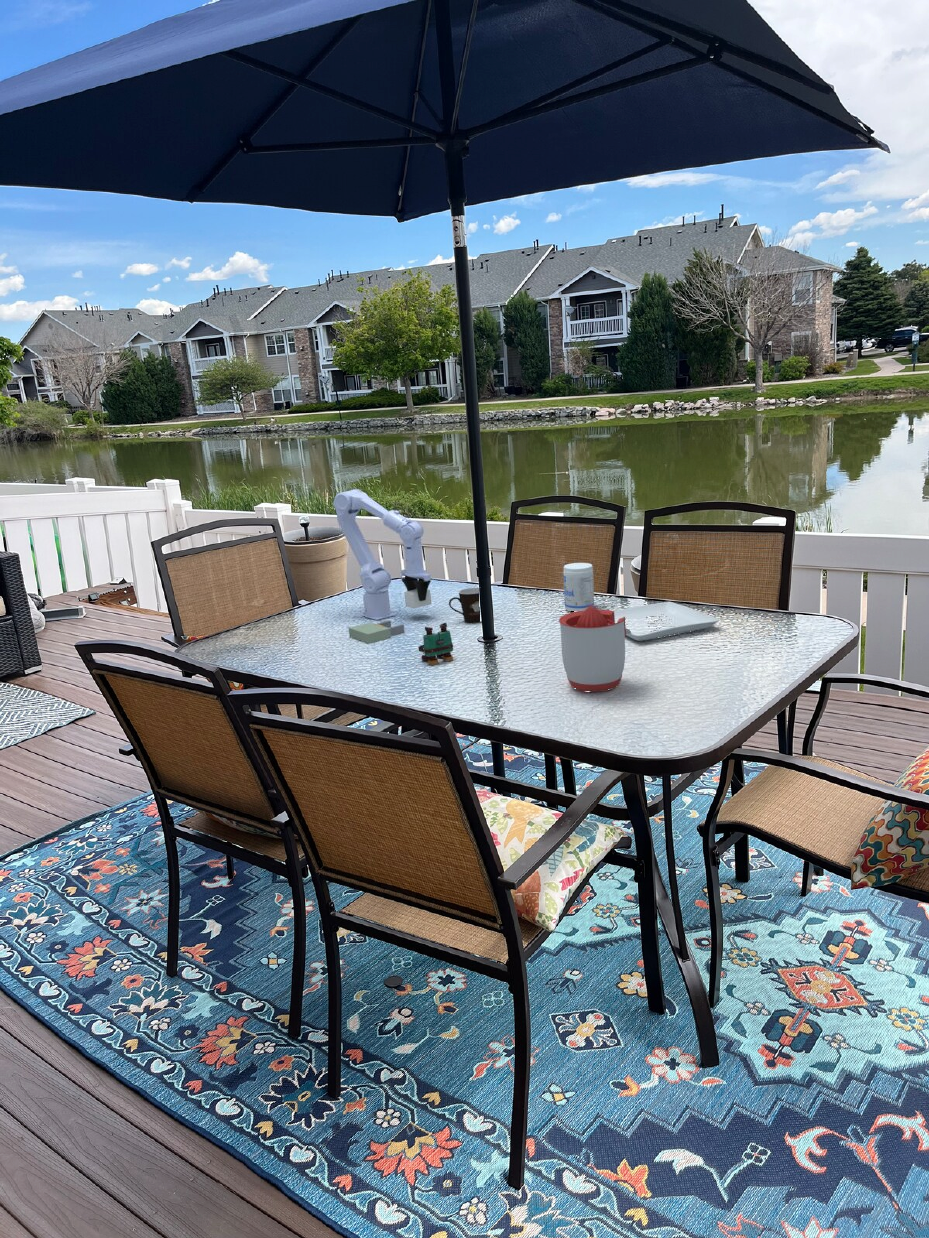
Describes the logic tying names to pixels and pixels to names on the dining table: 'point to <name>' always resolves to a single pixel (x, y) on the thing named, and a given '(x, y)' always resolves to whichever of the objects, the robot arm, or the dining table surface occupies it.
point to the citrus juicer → (593, 648)
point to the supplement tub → (578, 586)
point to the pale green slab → (375, 631)
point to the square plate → (683, 618)
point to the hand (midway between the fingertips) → (417, 599)
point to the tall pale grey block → (416, 599)
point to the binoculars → (437, 645)
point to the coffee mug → (469, 604)
